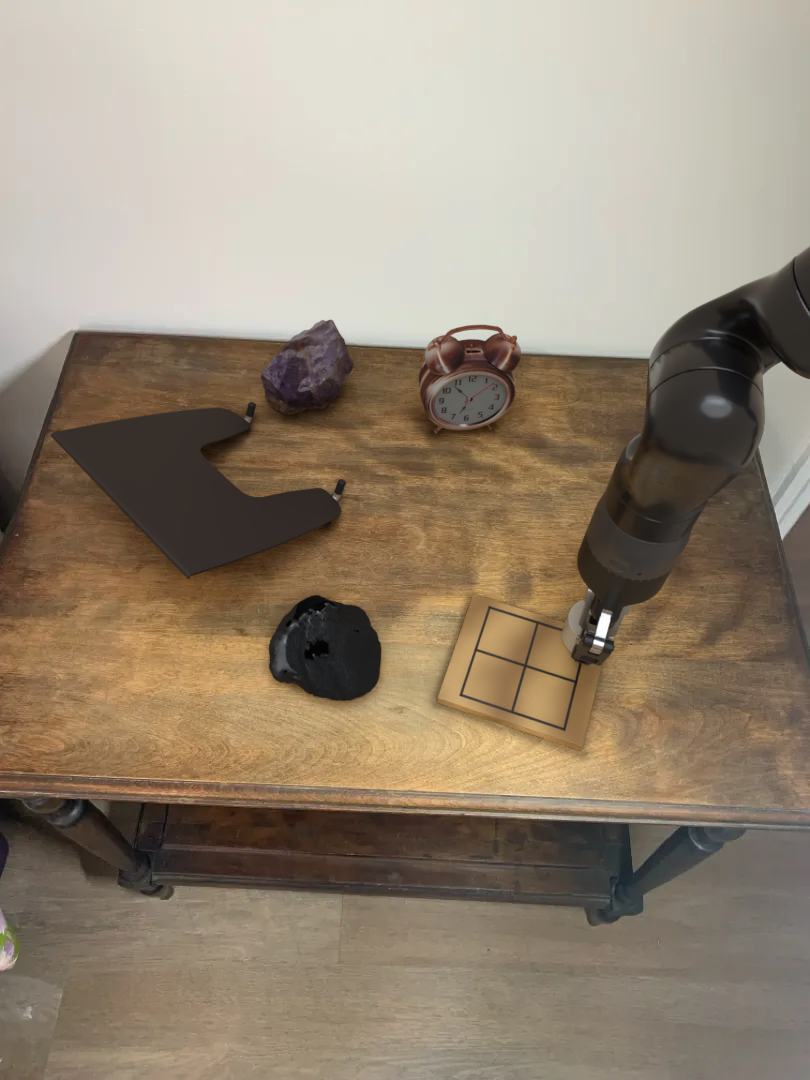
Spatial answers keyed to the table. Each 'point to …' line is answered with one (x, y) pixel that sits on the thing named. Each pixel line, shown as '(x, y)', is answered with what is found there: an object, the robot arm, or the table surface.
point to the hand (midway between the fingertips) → (587, 634)
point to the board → (519, 674)
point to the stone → (573, 626)
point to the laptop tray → (191, 487)
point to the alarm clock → (468, 379)
